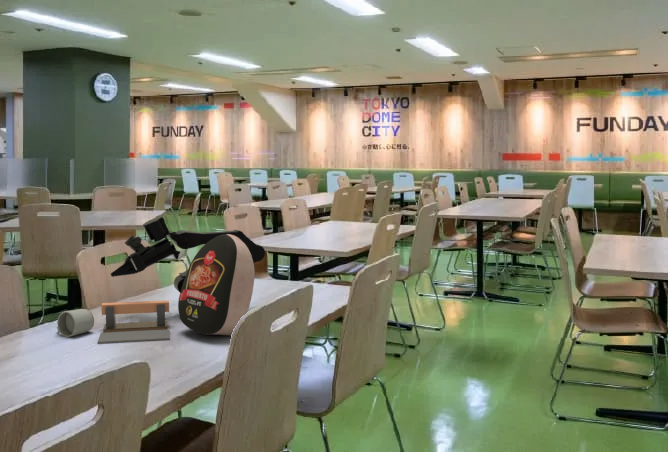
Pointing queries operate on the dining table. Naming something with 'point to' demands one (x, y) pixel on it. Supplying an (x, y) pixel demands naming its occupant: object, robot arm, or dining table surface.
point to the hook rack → (135, 326)
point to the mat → (134, 336)
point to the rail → (135, 307)
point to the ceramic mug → (75, 322)
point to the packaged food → (217, 286)
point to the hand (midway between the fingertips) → (111, 275)
